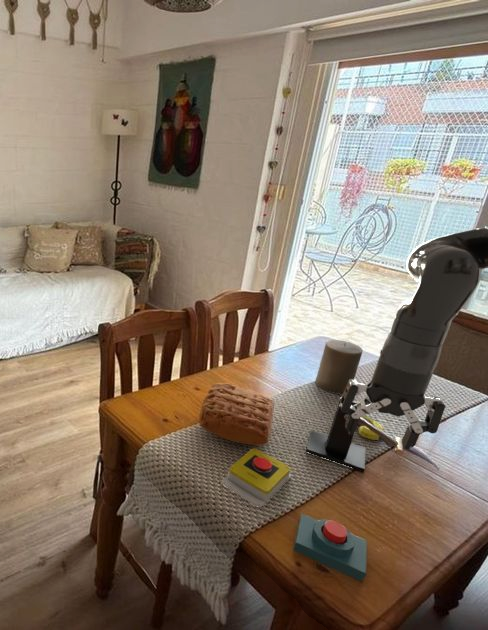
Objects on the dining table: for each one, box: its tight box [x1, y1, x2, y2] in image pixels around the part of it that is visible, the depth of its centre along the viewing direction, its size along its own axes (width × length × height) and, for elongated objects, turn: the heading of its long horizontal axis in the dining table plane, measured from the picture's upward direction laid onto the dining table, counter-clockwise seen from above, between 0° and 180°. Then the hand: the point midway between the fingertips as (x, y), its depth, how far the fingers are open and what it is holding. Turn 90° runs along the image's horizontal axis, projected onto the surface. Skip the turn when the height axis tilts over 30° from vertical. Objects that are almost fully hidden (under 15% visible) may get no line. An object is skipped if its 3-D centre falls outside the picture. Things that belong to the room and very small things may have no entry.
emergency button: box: [221, 447, 292, 508], centre depth 97 cm, size 9×4×15 cm
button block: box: [292, 513, 368, 583], centre depth 81 cm, size 11×8×4 cm
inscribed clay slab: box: [198, 382, 275, 446], centre depth 114 cm, size 22×17×8 cm
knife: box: [334, 410, 441, 472], centre depth 111 cm, size 8×3×25 cm
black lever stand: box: [305, 396, 366, 474], centre depth 104 cm, size 12×9×14 cm
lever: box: [351, 405, 404, 456], centre depth 101 cm, size 14×5×2 cm, turn 58°
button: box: [323, 520, 348, 544], centre depth 80 cm, size 4×4×2 cm
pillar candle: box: [314, 339, 364, 395], centre depth 133 cm, size 10×10×15 cm
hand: (377, 439), depth 80 cm, fingers open, 8 cm apart
